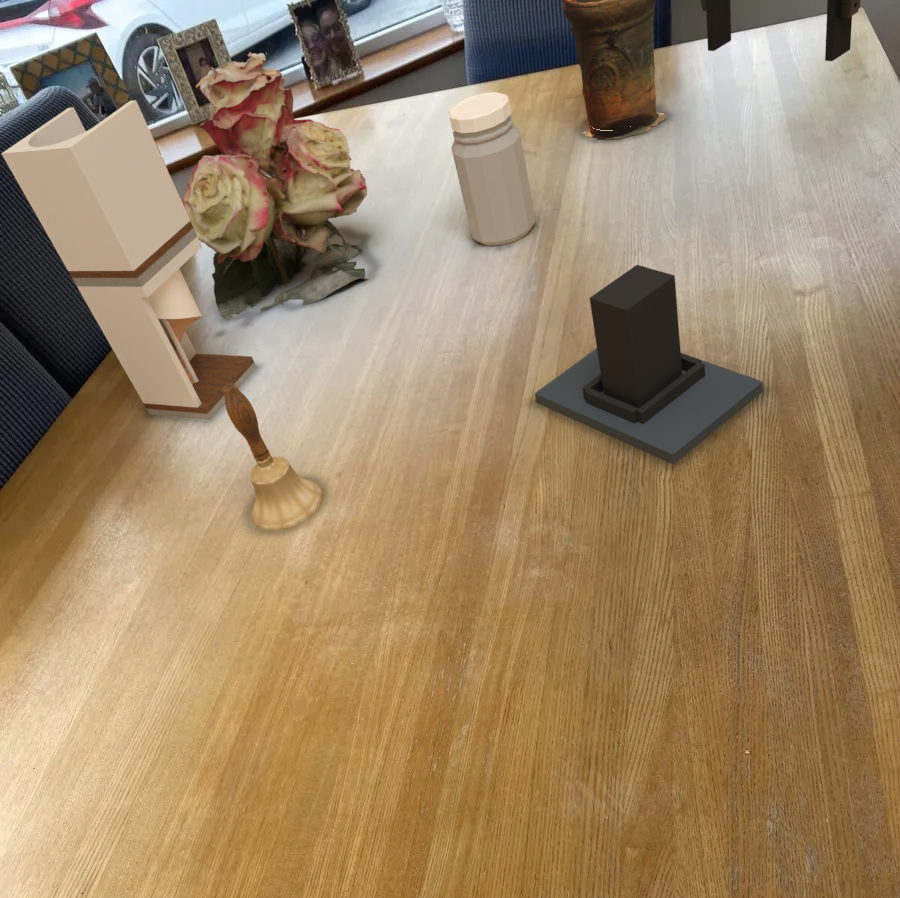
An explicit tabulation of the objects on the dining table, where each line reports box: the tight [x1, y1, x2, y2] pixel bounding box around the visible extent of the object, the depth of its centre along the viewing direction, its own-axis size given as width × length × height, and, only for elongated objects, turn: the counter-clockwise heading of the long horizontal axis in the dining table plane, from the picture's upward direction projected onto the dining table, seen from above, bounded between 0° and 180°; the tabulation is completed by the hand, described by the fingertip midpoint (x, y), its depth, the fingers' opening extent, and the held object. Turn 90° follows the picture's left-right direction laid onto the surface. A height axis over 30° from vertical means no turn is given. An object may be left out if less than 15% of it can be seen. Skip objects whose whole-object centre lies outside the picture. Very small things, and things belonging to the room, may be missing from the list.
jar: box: [447, 91, 537, 247], centre depth 132 cm, size 10×10×18 cm
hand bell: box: [223, 383, 323, 531], centre depth 99 cm, size 8×8×16 cm
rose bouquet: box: [181, 51, 368, 320], centre depth 135 cm, size 26×29×30 cm
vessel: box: [562, 0, 667, 141], centre depth 148 cm, size 14×14×20 cm
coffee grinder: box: [1, 99, 258, 421], centre depth 115 cm, size 11×11×35 cm
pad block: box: [589, 264, 682, 409], centre depth 98 cm, size 5×7×12 cm
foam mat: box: [534, 347, 764, 465], centre depth 102 cm, size 20×14×3 cm
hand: (775, 50), depth 92 cm, fingers open, 13 cm apart
